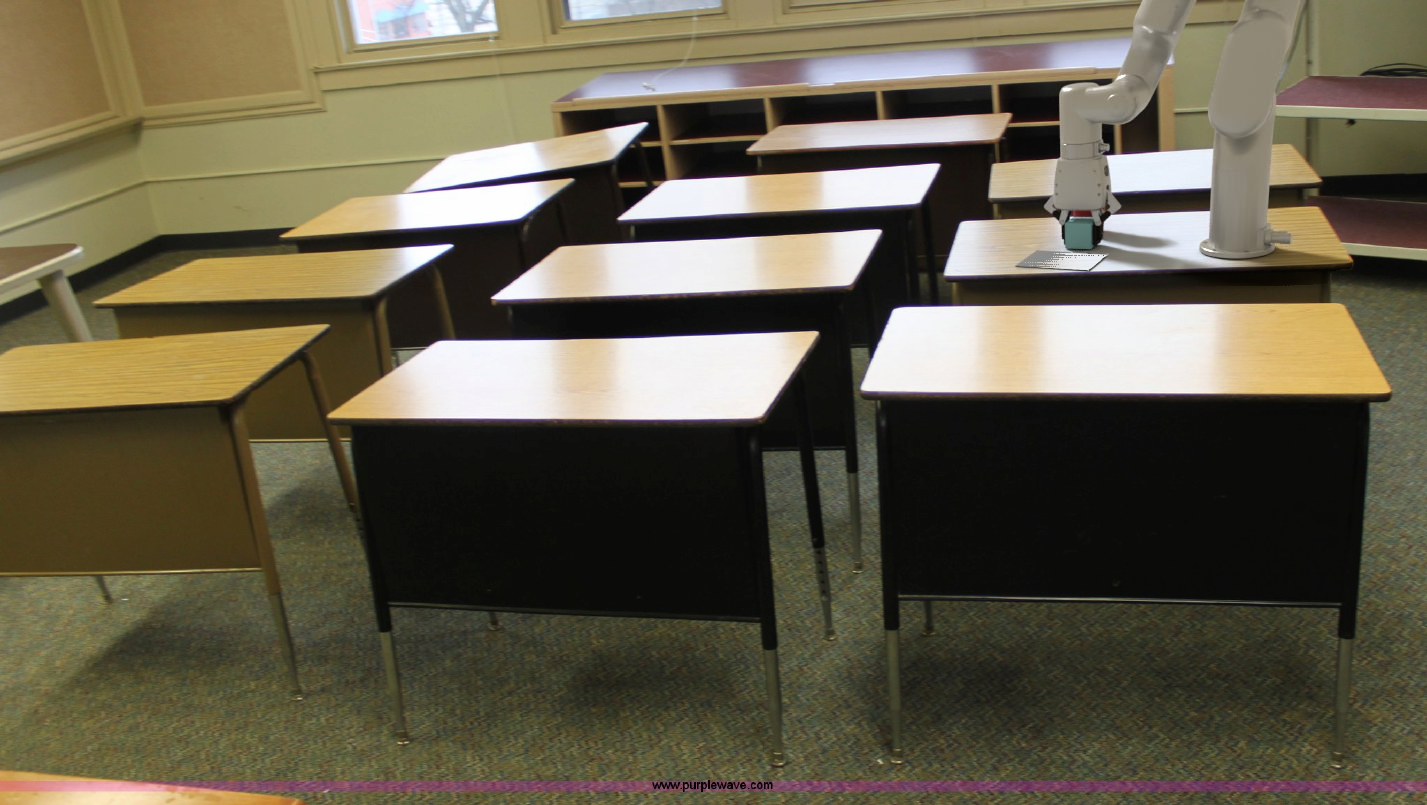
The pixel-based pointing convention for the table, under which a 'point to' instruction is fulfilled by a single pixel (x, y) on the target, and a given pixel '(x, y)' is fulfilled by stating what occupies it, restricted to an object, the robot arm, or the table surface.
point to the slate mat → (1043, 258)
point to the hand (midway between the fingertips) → (1082, 242)
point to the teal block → (1079, 233)
